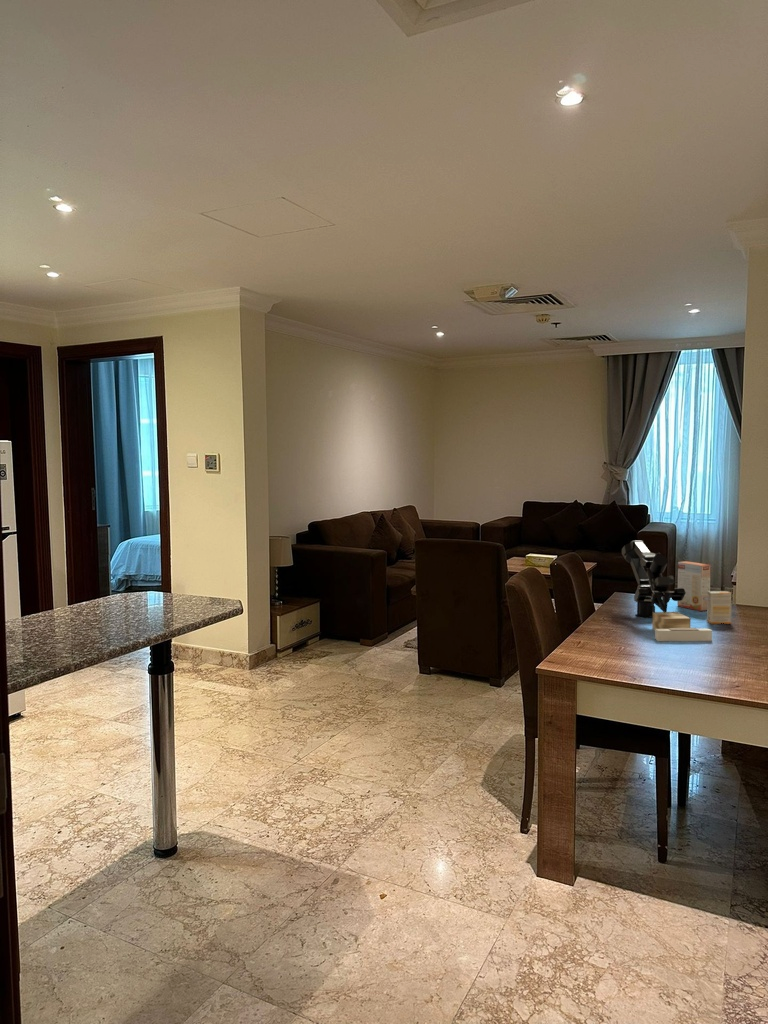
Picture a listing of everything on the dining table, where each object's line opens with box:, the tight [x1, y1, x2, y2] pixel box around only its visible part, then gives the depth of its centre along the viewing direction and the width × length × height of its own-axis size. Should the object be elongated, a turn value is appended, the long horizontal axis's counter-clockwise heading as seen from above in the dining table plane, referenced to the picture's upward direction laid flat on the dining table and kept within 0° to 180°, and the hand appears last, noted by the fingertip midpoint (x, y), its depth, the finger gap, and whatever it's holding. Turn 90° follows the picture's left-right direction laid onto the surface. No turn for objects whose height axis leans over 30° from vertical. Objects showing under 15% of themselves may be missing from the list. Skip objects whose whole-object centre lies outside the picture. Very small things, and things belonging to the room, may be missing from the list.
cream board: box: [654, 627, 713, 642], centre depth 269 cm, size 3×20×4 cm, turn 88°
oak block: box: [652, 611, 692, 631], centre depth 282 cm, size 12×10×7 cm
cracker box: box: [676, 560, 712, 612], centre depth 326 cm, size 14×6×21 cm, turn 22°
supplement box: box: [706, 590, 732, 625], centre depth 296 cm, size 8×5×13 cm, turn 84°
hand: (665, 611), depth 288 cm, fingers closed
